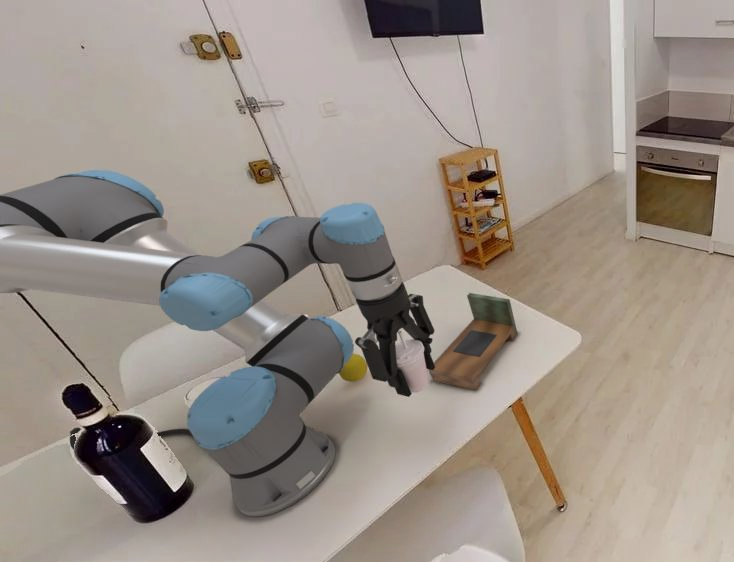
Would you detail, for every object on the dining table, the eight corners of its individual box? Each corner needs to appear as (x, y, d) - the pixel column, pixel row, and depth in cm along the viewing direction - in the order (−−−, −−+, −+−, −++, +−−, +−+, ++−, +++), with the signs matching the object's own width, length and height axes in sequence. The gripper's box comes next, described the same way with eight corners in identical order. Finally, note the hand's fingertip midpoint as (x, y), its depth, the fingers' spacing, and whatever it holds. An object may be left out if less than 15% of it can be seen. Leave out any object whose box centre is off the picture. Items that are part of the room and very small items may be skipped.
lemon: (359, 390, 96) (346, 366, 92) (340, 387, 97) (326, 363, 93) (377, 372, 101) (365, 348, 97) (358, 369, 102) (346, 345, 98)
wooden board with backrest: (432, 380, 98) (418, 344, 92) (479, 326, 114) (469, 292, 108) (476, 390, 95) (463, 353, 89) (517, 333, 111) (509, 299, 105)
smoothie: (442, 373, 86) (423, 323, 79) (425, 399, 80) (403, 347, 73) (413, 371, 86) (392, 321, 79) (394, 397, 81) (370, 345, 74)
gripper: (349, 330, 62) (396, 425, 74) (434, 262, 78) (462, 349, 90) (311, 321, 64) (363, 416, 75) (402, 257, 80) (433, 343, 91)
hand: (417, 380), depth 82 cm, fingers closed on smoothie, 6 cm apart
